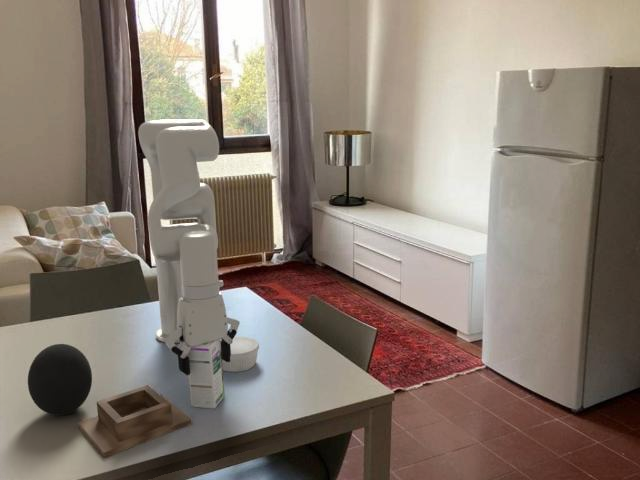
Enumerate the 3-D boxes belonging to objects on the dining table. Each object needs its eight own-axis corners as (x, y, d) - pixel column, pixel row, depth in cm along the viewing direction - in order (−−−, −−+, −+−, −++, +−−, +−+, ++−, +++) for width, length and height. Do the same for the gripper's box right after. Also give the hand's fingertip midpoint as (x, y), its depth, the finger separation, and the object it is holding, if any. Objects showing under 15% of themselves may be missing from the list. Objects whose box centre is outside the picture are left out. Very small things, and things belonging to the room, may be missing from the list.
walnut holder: (161, 398, 132) (160, 377, 131) (191, 423, 122) (190, 401, 120) (79, 426, 121) (76, 404, 120) (104, 457, 110) (101, 433, 109)
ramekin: (205, 365, 148) (203, 345, 147) (239, 351, 156) (238, 332, 155) (233, 379, 141) (232, 358, 140) (268, 363, 149) (267, 344, 148)
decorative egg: (31, 432, 119) (21, 363, 116) (33, 404, 130) (24, 340, 127) (97, 419, 124) (89, 352, 120) (93, 393, 135) (86, 331, 131)
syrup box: (215, 409, 127) (211, 345, 124) (189, 406, 128) (185, 344, 125) (224, 396, 133) (221, 335, 129) (200, 394, 134) (196, 333, 130)
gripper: (227, 278, 133) (231, 350, 136) (154, 294, 122) (160, 372, 125) (245, 285, 127) (249, 360, 131) (170, 303, 116) (176, 384, 120)
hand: (205, 366), depth 128 cm, fingers open, 9 cm apart
